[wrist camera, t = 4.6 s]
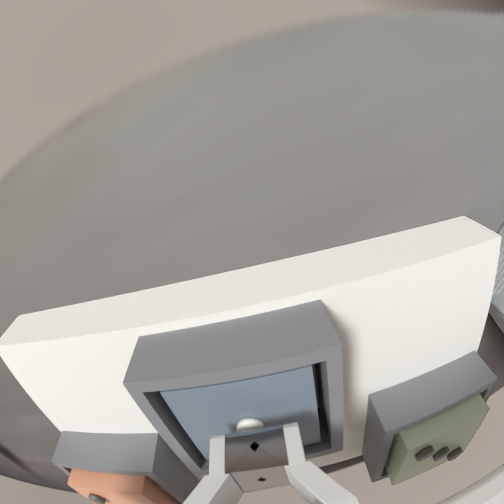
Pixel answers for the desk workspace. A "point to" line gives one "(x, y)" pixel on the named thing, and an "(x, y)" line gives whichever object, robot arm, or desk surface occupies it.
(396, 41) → the desk surface
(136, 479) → the button two
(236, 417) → the button one
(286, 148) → the desk surface
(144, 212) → the desk surface
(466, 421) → the button three
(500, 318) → the hard drive box
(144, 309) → the button panel
